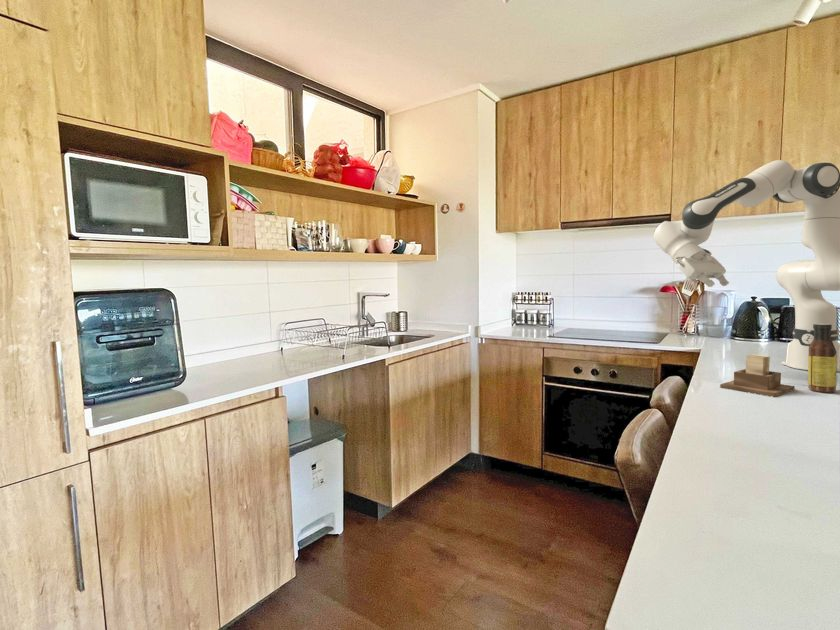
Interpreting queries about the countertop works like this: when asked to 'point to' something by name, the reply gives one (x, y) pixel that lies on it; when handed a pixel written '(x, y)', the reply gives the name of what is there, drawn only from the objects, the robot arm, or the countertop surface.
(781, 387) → the walnut stand
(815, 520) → the countertop surface
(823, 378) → the sauce bottle
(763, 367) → the maple block
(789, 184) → the robot arm
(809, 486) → the countertop surface
